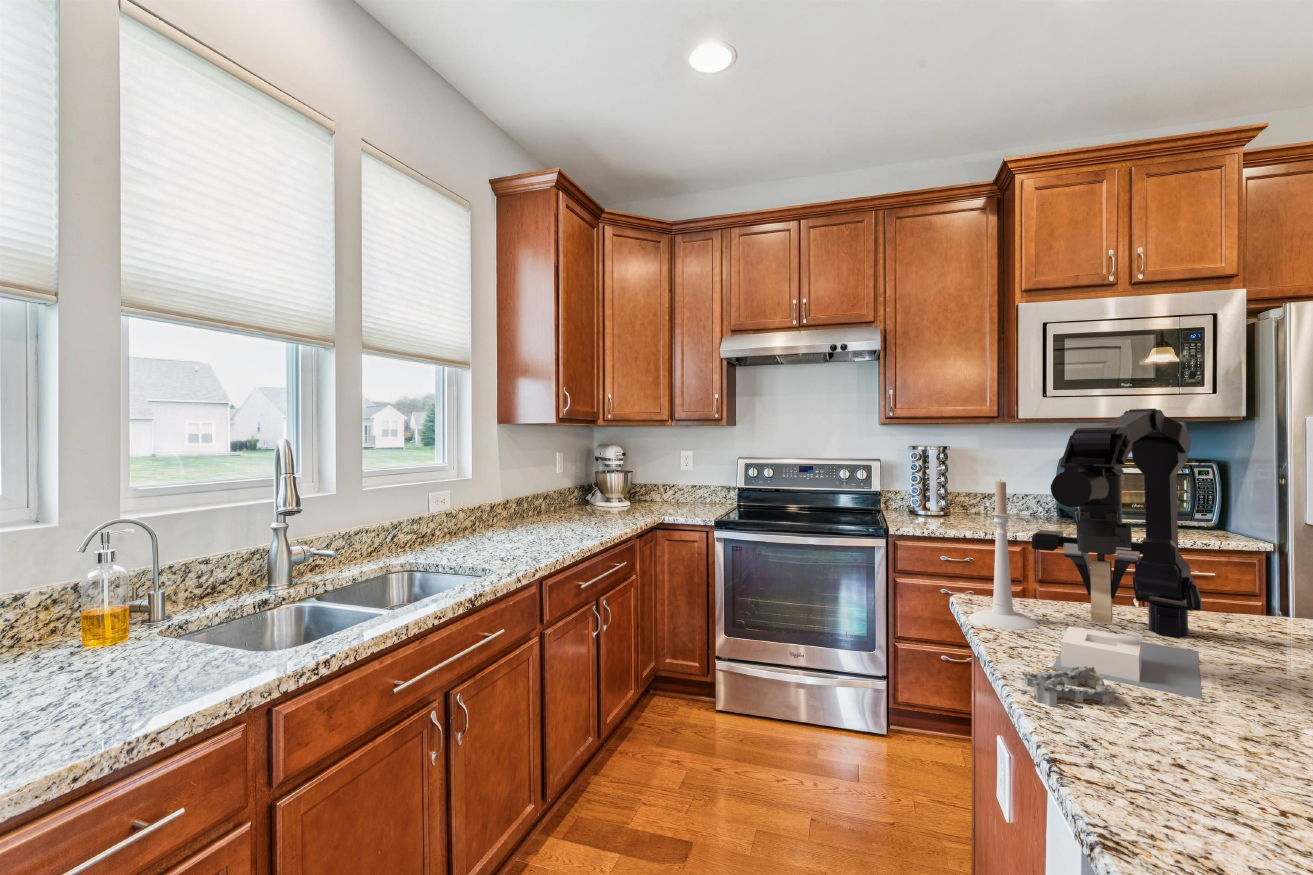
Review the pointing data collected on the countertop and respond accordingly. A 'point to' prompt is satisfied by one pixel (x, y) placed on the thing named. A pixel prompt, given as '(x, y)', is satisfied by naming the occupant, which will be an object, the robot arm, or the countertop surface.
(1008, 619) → the candlestick
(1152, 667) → the board
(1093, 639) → the holder
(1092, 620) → the peg
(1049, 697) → the egg carton
